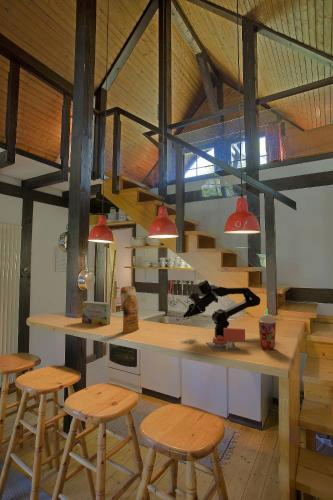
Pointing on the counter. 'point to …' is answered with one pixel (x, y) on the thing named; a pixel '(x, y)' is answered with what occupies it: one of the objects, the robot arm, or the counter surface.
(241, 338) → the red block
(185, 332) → the counter surface
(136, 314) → the pancake mix bag
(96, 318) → the snack box
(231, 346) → the grey base plate
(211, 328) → the counter surface
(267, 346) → the smoothie
